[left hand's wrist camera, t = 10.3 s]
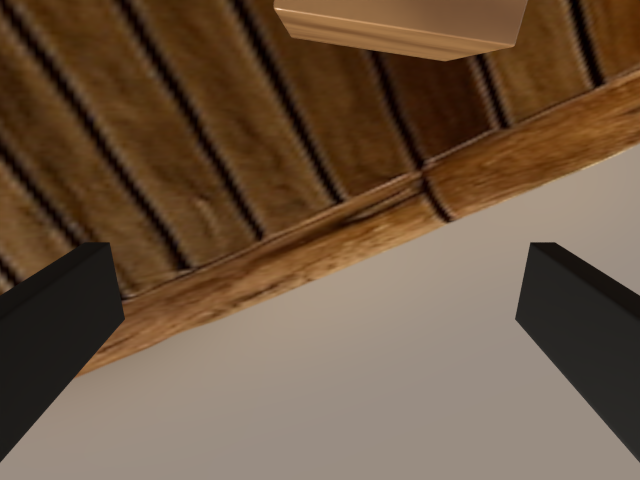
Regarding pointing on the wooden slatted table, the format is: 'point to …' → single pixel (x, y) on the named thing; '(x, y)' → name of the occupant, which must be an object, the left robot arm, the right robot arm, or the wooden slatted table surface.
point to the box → (407, 25)
